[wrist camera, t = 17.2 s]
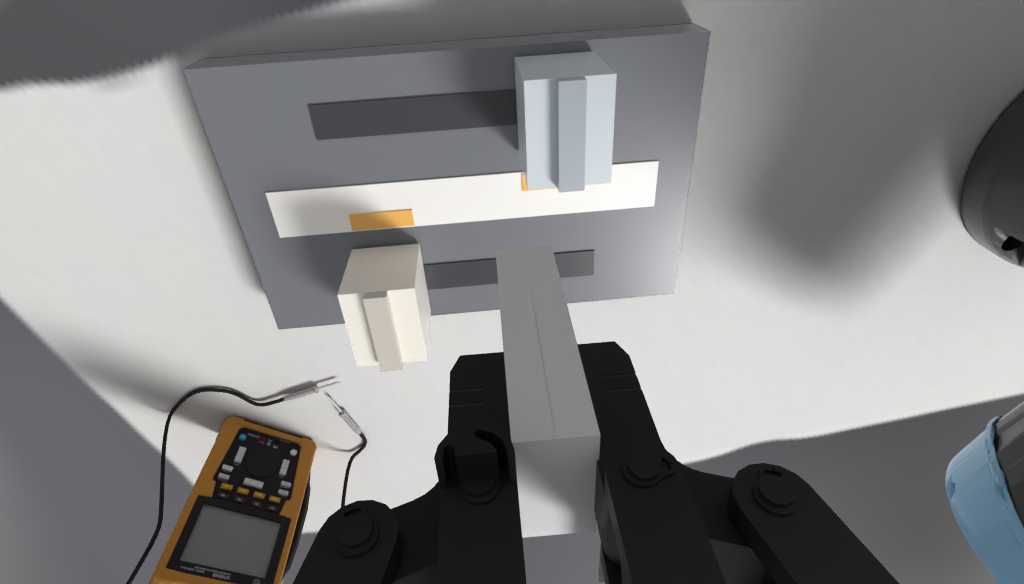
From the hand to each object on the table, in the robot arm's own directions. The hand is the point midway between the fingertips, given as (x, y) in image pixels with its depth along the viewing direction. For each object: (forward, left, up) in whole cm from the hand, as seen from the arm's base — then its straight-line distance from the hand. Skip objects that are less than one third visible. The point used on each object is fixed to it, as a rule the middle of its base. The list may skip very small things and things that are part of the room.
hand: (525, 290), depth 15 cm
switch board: (+2, +5, -19) cm, 20 cm away
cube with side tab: (-3, 0, -17) cm, 17 cm away
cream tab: (+7, +10, -17) cm, 20 cm away
